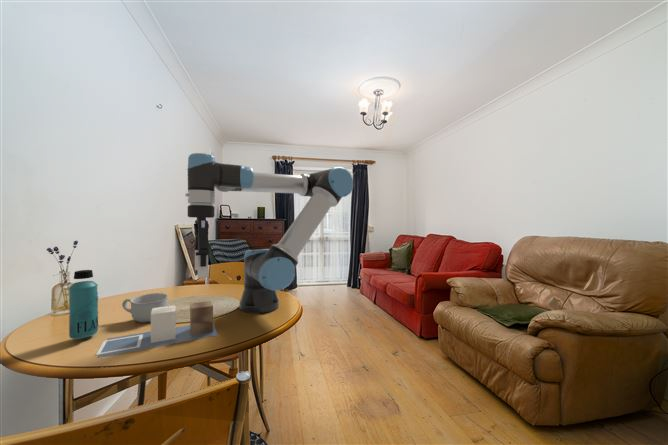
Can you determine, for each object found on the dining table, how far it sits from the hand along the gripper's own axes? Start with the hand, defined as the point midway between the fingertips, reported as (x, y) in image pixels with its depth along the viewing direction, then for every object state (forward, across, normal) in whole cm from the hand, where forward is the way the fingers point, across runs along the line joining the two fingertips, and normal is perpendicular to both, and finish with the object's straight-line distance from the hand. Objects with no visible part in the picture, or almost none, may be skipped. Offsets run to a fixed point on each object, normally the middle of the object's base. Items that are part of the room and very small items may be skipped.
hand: (200, 273), depth 87 cm
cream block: (+18, 0, -10) cm, 20 cm away
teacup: (+18, -20, -16) cm, 31 cm away
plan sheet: (+18, 0, -10) cm, 21 cm away
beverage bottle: (+18, -10, -30) cm, 36 cm away
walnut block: (+18, 0, 0) cm, 18 cm away
